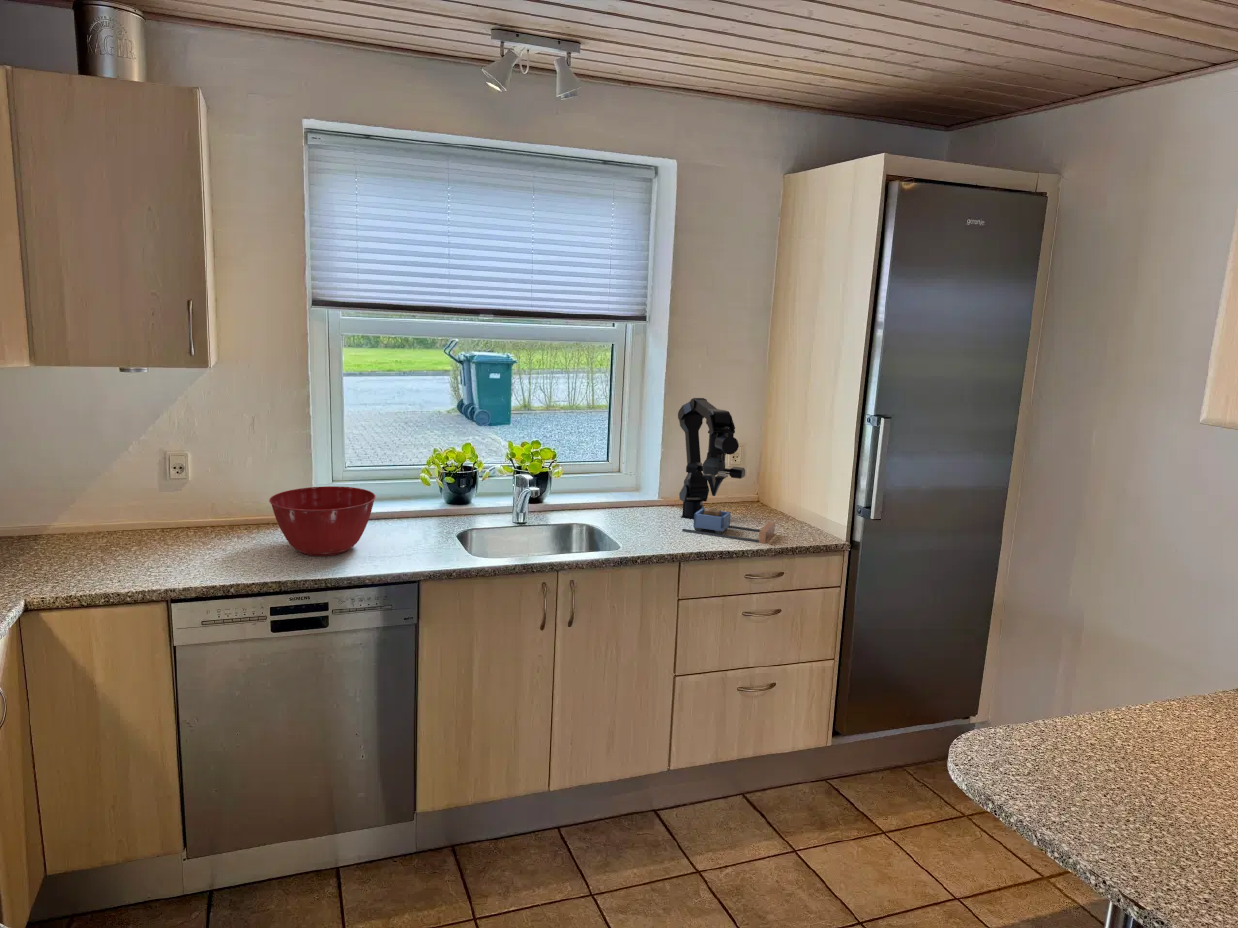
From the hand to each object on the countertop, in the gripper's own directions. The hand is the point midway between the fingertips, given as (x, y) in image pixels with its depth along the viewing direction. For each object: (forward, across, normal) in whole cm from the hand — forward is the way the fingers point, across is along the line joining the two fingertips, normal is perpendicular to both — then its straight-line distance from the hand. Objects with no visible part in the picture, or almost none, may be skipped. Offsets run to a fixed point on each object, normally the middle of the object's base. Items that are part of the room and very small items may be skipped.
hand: (713, 495), depth 287 cm
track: (+12, +6, 0) cm, 13 cm away
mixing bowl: (+12, -92, -80) cm, 123 cm away
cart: (+12, 0, 0) cm, 12 cm away
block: (+9, 0, 0) cm, 9 cm away
